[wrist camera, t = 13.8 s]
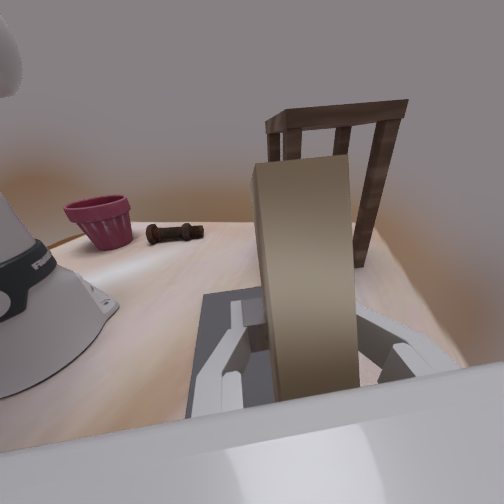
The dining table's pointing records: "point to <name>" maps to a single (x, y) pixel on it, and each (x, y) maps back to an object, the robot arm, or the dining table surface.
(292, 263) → the hammer
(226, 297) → the mat
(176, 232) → the bolt
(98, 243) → the plant pot
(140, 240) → the dining table surface
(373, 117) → the stool
